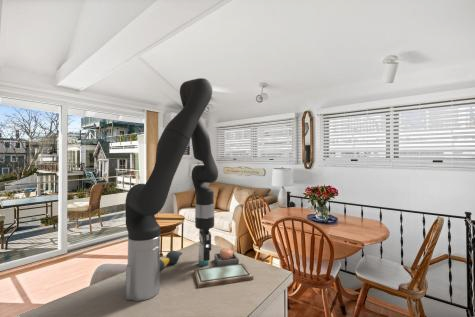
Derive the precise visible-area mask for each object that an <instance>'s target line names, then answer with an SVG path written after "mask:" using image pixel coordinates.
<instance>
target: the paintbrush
mask: <svg viewBox="0 0 475 317" xmlns="http://www.w3.org/2000/svg"><path fill="white" fill-rule="evenodd" d="M182 254H183V252H180V251H177V250H170V251H168V252H167V254H166V257H164V258H160V272H161V271H162V270H164V269H165V268H166V266H168V264H170V265H175V264H177V263H178V262H179V260H180V257H181V256H182Z"/></svg>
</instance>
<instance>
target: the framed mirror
mask: <svg viewBox="0 0 475 317" xmlns="http://www.w3.org/2000/svg"><path fill="white" fill-rule="evenodd" d="M193 273H194V277H195V281H196V283H197V284H196V285H197V288H199V289H200V288H207V287H213V286H219V285H224V284H233V283H238V282H246V281H252V280H254V279H255V278H254V277H255V276H254V275H253V274H252V273H251V272H250V270H249V269H248V267H247V266H246V265H245V264H244V263H239V264H234V265H227V266H219V267H218V266H214V267H213V266H211V267H204V268H197V269H194V270H193Z"/></svg>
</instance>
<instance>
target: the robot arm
mask: <svg viewBox="0 0 475 317" xmlns="http://www.w3.org/2000/svg"><path fill="white" fill-rule="evenodd" d="M212 96H213V86H212V84H211V82H210V81H209V80H208V79H206V78H203V77H201V78H200V77H199V78H195V79H190V80H186V81H183V83H182V84H181V85H180V86H179V97H180V100H181V101H180V102H181V104H182V107H183V108H182V109H181V110H180V111H179V112H178V113H177V114H176V115H175V116H174V117H173V118H172V119H171V120H170V121H169V122H168V123H167V124H166V126H165V127H164V129H163V132H162V133H161V135H160V136H159V138H158V142H157V145H156V151H155V162H154V167H153V168H152V169H153V170H152V171H151V173H150V175H149V177H148V179H147V181H146V182H145V183H138V184H135V185H133V186H131V187H130V188H129V190H128V191H127V193H126V196H125V204H124V206H125V228H126V231H127V264H126V268H125V271H126V273H125V301H135V302H140V301H146V300H149V299H152V298H154V297H156V296H157V295H158V293H159V292H160V276H161V275H160V273H161V271H160V259H161V226H160V224H159V222H158V221H157V220H156V215H157V214H159V212H160V211H161V210H162V209H163V208H164V206H165V204H166V201H167V199H168V195H169V193H170V189H171V187H172V183H173V180H174V177H175V175H176V173H177V171H178V168H179V165H180V163H181V161H182V158H183V156H184V154H185V153H186V150H187V149H188V145H189V144H190V141H191V146H192V153H193V158H194V159H195V160H196V161H199V162H202V164H197V165H194V166H193V168H192V169H191V174H190V175H191V180H192V185H193V188H194V191H195V210H194V212H195V213H194V220H195V221H194V223H195V224H194V227H195V228H196V229H198V230H199V231H198V233H199V234H198V236H199V237H198V239H199V244H202V245H203V250H204V261H210V260H211V258H210V257H211V254H210V253H211V252H210V251H212V234H211V232H210V229H213V228H214V227H215V206H214V204H215V202H214V200H215V199H214V198H215V197H214V194H215V193H214V190H213V189H212V188H209V187H207V186H206V185H205V184H206V183H207V184H213V183H215V182H216V181H217V179H218V178H219V170H218V169H219V168H218V166H217V164H216V162H215V159H214V157H213V154H212V146H211V139H210V134H209V133H208V131H207V129H206V127H205V125H204V123H203V122H202V120H201V117H202V115H203V113H204V111H206V109H207V107H208V105H209V103H210V101H211V99H212ZM206 245H208V247H207V248H206Z"/></svg>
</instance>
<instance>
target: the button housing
mask: <svg viewBox="0 0 475 317" xmlns="http://www.w3.org/2000/svg"><path fill="white" fill-rule="evenodd" d="M213 259H214V262H215V263H216V265H217V266H216V267H219V266H227V265H234V264H240V263H239V262H240V260H239V257H238V256H237V255H236V254H235V253H234V251H233V258H232V259H230V260H222V259H220V252H217V253H214V258H213Z"/></svg>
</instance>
